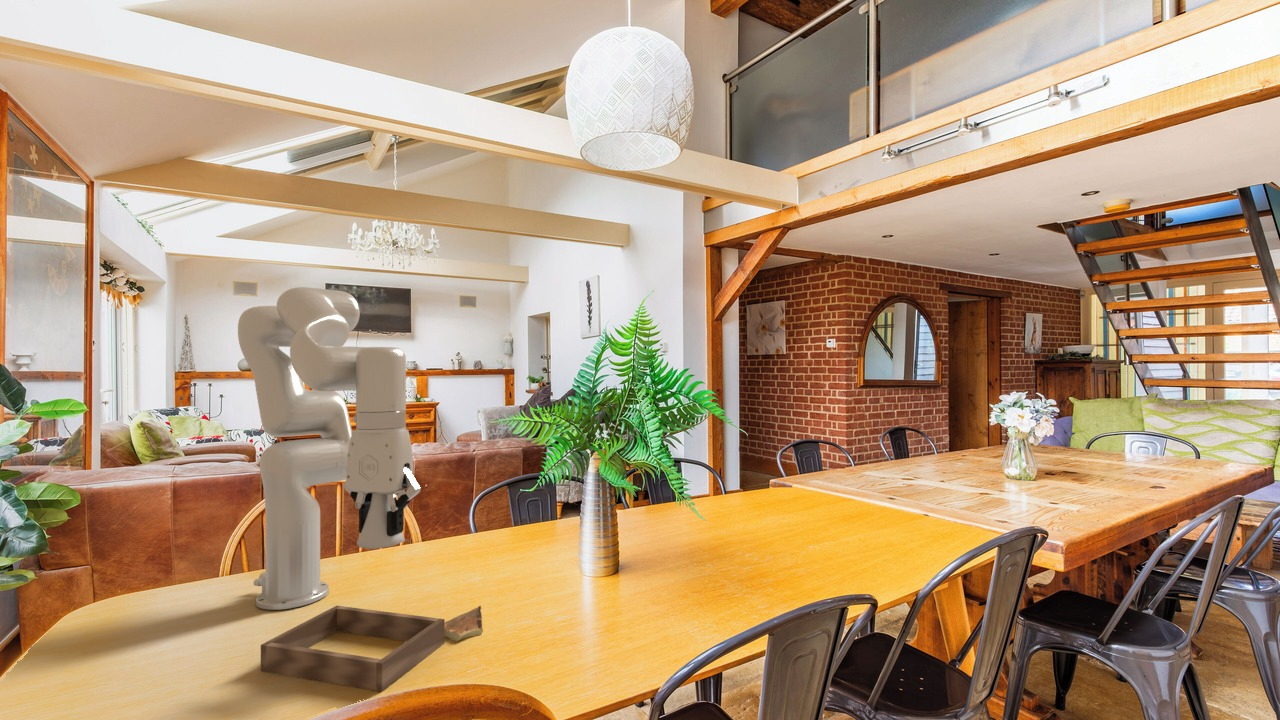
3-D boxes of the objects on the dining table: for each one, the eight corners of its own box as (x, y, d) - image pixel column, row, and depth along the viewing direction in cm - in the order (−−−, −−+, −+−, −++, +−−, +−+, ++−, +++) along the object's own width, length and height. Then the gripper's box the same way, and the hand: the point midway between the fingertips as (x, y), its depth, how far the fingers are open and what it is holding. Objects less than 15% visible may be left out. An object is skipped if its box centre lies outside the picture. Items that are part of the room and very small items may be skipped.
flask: (370, 553, 90) (369, 489, 90) (348, 544, 95) (348, 483, 95) (413, 542, 96) (413, 481, 96) (390, 534, 100) (390, 476, 100)
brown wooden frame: (260, 671, 88) (260, 644, 88) (336, 628, 103) (336, 605, 103) (382, 691, 82) (382, 663, 83) (444, 643, 97) (444, 619, 97)
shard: (480, 613, 110) (480, 603, 110) (509, 622, 106) (509, 612, 106) (433, 636, 101) (433, 625, 101) (463, 647, 97) (463, 636, 97)
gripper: (321, 422, 94) (321, 534, 94) (409, 425, 89) (409, 543, 89) (356, 418, 101) (356, 522, 101) (439, 420, 96) (439, 530, 96)
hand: (381, 531), depth 95 cm, fingers closed on flask, 4 cm apart
